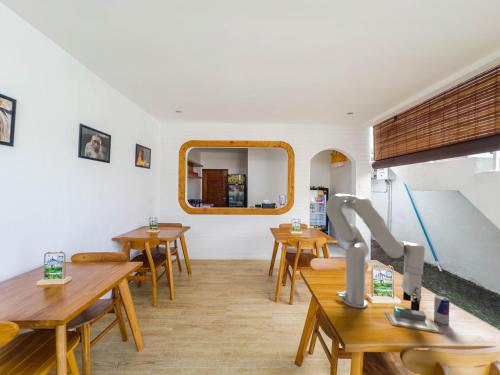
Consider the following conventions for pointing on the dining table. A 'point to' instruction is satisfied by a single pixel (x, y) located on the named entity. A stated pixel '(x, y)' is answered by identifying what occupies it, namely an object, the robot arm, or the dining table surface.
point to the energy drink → (441, 310)
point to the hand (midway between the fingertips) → (410, 305)
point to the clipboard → (414, 323)
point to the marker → (409, 314)
